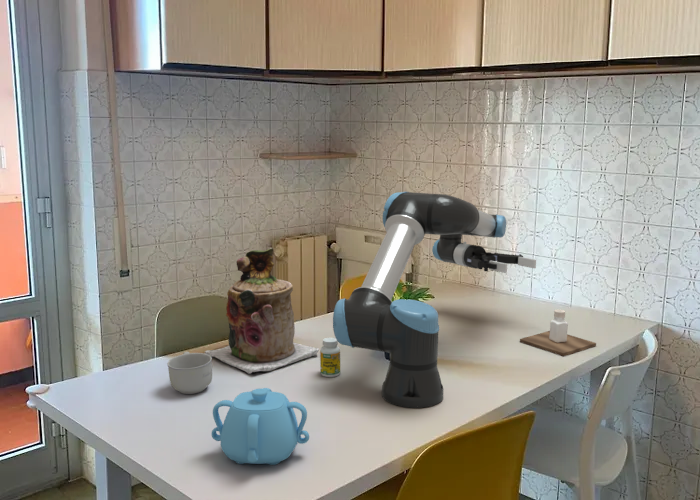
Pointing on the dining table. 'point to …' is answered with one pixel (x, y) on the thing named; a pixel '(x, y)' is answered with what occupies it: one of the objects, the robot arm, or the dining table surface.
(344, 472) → the dining table surface
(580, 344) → the board
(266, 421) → the decorative pot
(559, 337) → the pepper shaker
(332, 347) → the supplement bottle
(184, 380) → the teacup
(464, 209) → the robot arm
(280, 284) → the cookie jar
